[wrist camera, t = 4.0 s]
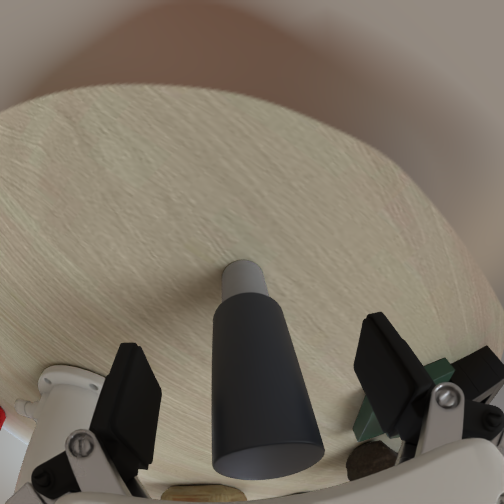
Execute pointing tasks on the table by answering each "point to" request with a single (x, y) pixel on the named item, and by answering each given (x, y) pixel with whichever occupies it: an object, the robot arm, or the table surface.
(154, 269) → the table surface
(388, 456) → the dark brown bone
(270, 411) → the soldering iron
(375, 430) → the station
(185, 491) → the ceramic vessel
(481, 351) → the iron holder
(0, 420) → the soda can
